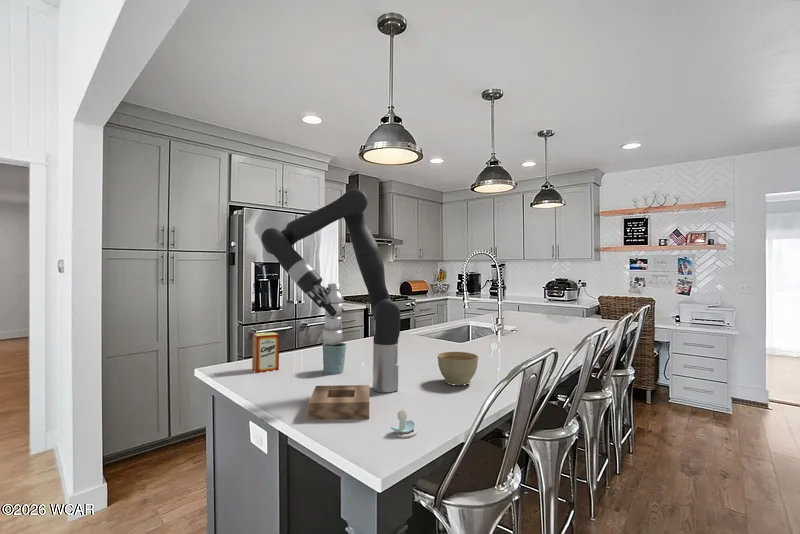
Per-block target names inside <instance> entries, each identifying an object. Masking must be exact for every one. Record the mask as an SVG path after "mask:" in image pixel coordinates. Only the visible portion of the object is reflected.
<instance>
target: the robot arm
mask: <svg viewBox="0 0 800 534" xmlns="http://www.w3.org/2000/svg"><path fill="white" fill-rule="evenodd" d="M368 201H369V199H368V196H367V194H366V193H365V192H364V191H363V190H361V189H359V188H353V189H349V190H347V191H346V192H345V193H343V195H341V196H339V198H337V199H335V200H334V201H332V202H331V203H330V202H329V204H327V205H325V206H323V207H321V208H318V209H315V210H314V211H311V212H309V213H306V214H304V215H302V216H300V217H297V218H296V219H293V220H292V221H290V222H288V223H287V224H286V227H285V228H283V230H281V231H280V230H278V229H277V228H273V227H270V228H266V229H265V230H263V232H262V233H261V238H260V239H261V244H262V245H263V248H264V250H265V251H266V253H268V254H270V255H273V256H274V258H276V260H277V262H278V263H279V265H280V266H281V268H282V269H283V270H284V271H285V272H286V273H287V274H288V275H289V277H290V279H291V280H292V281H293V282H294V283H295V284H296V286H297V287H298V288H299V289H300V290H301V292H303V293H304V295H305V294H306V295H307V297H308V298H309V299H310V300H312V301H313V303H315V304H316V305H317V307H318V308H320V309H321V308H322V309H324V311H325V310H326V311H327V312H328V313H329V314H330V315H331V316H334V315H335V314H336V313H337V311H336V310H335V309H334V308H333V306H332V305H331V304H329V302H328V301H327V296H326V294H327V293H328V291H329V289H328V286H327V287H325V286H323V285H322V282H323V277H322V276H320V274H319V273H318V272H317V271H316V270H315V269H314V267H312V265H310V263H308V262H307V261H306V260H305V259H304V258H303V257H302V255H300V253H298V252H297V250H295V248H294V247H293V246H294V245H295V244H296V243H297V242H299V241H301V240H303V239H305V238H308V237H309V236H311V235H314V234H315V233H317V232H319V231H320V230H321V231H322V229H323V228H326V227H327V226H329V225H331V224H333V223H334V222H337V221H339V220H341V219H344V221H345V222H344V223H345V224H346V227H347V229H348V232H349V236H350V240H351V244H352V247H353V251H354V255H355V258H356V261H357V262H356V263H357V266H358V269H359V271H360V274H361V277H362V279H363V282H364V286H365V288H366V290H367V293H368V298H369V303H370V308H371V313H372V317H373V318H374V320H375V331H374V335H373V337H372V339H373V344H372V345H373V347H372V349H373V352H372V353H373V354H372V359H373V361H372V389H373V391H375V392H376V393H377V392H378V393H392V392H399V337H400V335H401V310H400V306H399V305H398V304H397V303H396V302H395V301H392V299H391V297H390V294H389V291H388V289H387V284H386V278H385V277H386V276H385V264H384V260H383V257H382V253H381V250H380V248H379V245H378V243H377V240H376V239H375V238H374V236H373V234H372V232H371V230H370V229H369V227H368V223H367V221H366V216H365V210H366V209H367V207H368V204H369V202H368ZM344 311H345V309H344V308H342V313H343V312H344Z"/></svg>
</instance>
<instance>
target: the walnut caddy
mask: <svg viewBox="0 0 800 534" xmlns="http://www.w3.org/2000/svg"><path fill="white" fill-rule="evenodd" d="M307 405H308V411H307V414H308V415H307V420H308V421H319V420H320V421H321V420H326V421H328V420H329V421H330V420H331V421H332V420H370V385H369V384H365V385H364V384H362V385H361V384H359V385H358V384H355V385H353V384H352V385H350V384H349V385H345V384H343V385H341V384H340V385H336V384H335V385H315V388H314V389H313V391H312V395H310V399H309V401H308V404H307Z"/></svg>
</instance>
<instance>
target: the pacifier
mask: <svg viewBox="0 0 800 534" xmlns="http://www.w3.org/2000/svg"><path fill="white" fill-rule="evenodd" d="M397 419H398V423H399V424H398V427H397V426H390V429H392V430H393V431H395V432H396V436H397V437H398V438H404V439H406V438H410V437H413V436H415V435H417V432H418V431H417V429H416V428H415V425H416V424H415V422H414V421H413V420H410V419H409V420H407V419H408V414H407V411H406V410H405V409H400V410H399V411H398V413H397ZM408 432H409V433H408ZM407 433H408V434H407ZM404 434H405V435H404Z"/></svg>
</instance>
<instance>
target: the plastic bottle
mask: <svg viewBox="0 0 800 534" xmlns="http://www.w3.org/2000/svg"><path fill="white" fill-rule="evenodd" d="M327 285H328V286H327V287H328V289H329V291H328V293H327V294H326V296H327V301H328V302H329V304H331V305H332V306H333V308H334V309H335V310H336V311H337V313H336V314H335V315H334V316H331V315H330V314H329V313H328V312H327V311H326V310H325V309H324V316H325V317H324V330H323V333H322V339H323V340H322V341H323V342H324V343H325V344H330V345H335V344H340V343H343V338H344V335H343V333H344V332H343V326H342V319H343V317H342V316H343V315H342V314H343V312H342V308H343V307H344V302H345V301H344V300H345V299H344V296H343V295H342V293H341V292H340V289H341V287H340V283H328V284H327ZM343 309H344V308H343ZM324 343H323V344H324Z"/></svg>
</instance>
